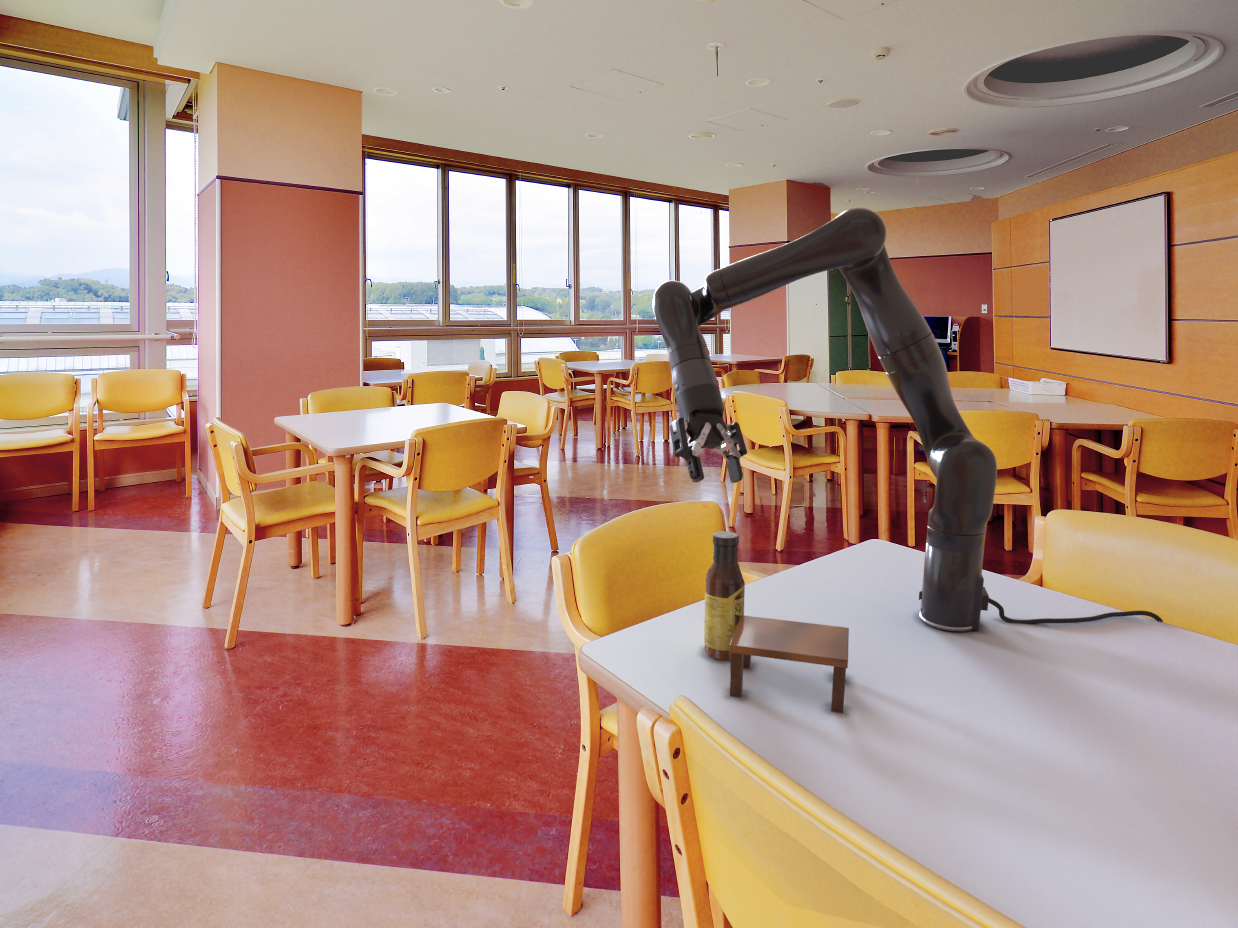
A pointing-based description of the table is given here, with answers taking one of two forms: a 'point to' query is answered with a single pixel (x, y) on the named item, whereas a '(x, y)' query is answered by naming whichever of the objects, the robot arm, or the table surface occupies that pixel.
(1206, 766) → the table surface
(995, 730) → the table surface
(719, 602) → the sauce bottle
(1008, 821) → the table surface
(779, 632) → the small brown wooden table
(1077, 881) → the table surface
